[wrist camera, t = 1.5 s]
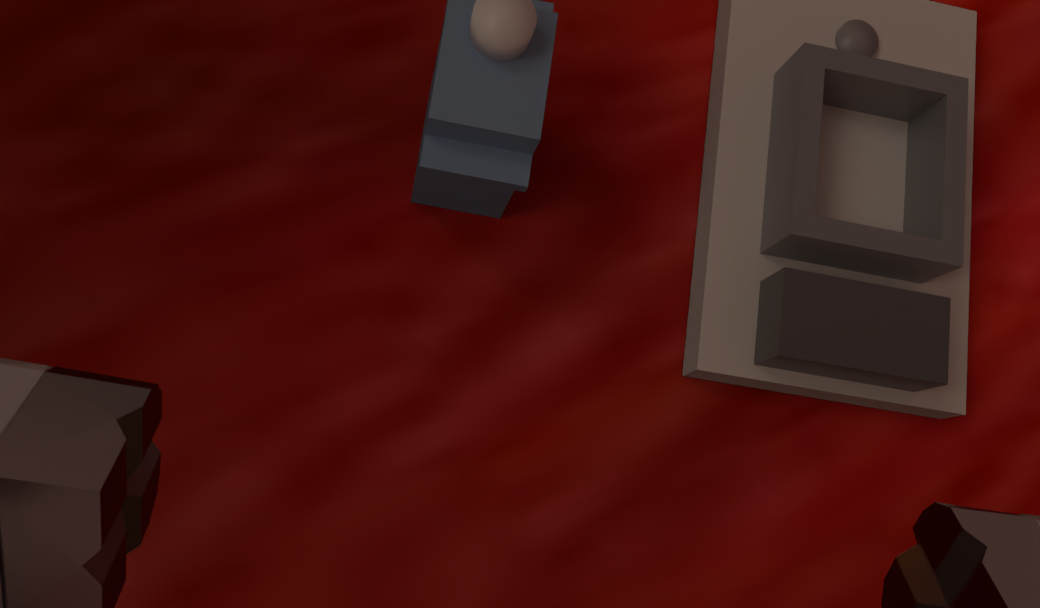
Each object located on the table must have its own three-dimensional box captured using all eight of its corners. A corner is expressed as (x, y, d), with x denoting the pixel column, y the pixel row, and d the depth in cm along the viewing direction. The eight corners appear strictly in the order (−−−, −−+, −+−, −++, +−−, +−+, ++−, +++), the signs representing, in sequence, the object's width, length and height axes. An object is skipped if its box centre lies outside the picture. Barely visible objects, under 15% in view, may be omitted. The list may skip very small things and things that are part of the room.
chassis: (940, 419, 36) (1011, 407, 32) (682, 375, 35) (724, 357, 31) (953, 30, 40) (1019, -23, 36) (721, -24, 38) (762, -84, 35)
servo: (495, 245, 35) (542, 160, 26) (406, 228, 34) (425, 137, 26) (518, 90, 36) (569, -36, 28) (432, 72, 36) (459, -61, 27)
